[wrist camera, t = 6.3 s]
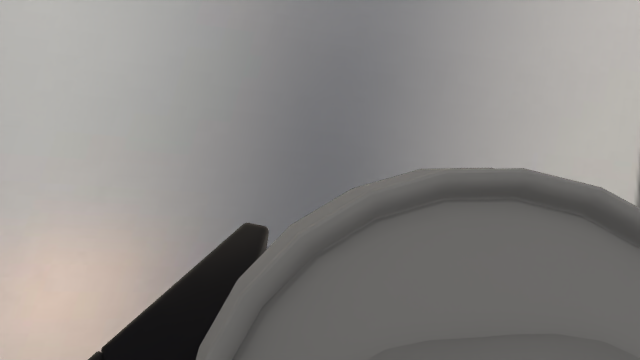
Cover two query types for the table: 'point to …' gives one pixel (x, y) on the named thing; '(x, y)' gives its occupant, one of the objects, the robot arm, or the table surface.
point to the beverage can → (444, 275)
